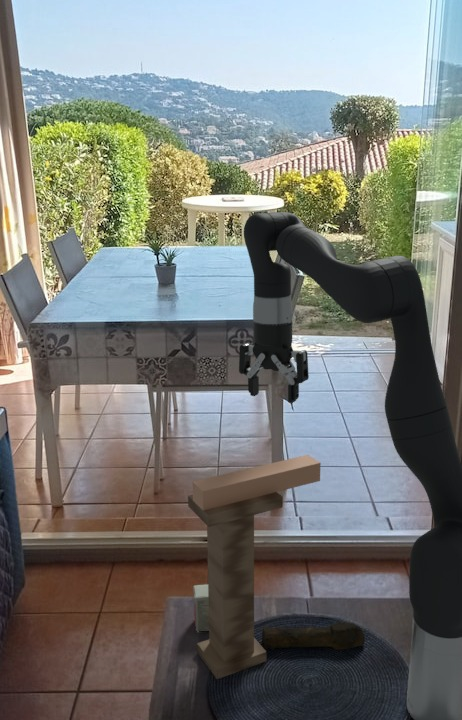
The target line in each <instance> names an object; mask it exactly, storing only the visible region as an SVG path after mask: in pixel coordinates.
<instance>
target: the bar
mask: <svg viewBox="0 0 462 720" xmlns="http://www.w3.org/2000/svg"><path fill="white" fill-rule="evenodd" d="M321 466H322V465H321V462H320V461H318V460H317V459H316V458H314V457H312V456H311V455H309V454H305V455H302V456H298V457H297V456H295V457H292V458H289V459H284V460H279V461H276V462H270V463H266V464H263V465H262V464H261V465H259V466H254V467H250V468H245V469H241V470H237V471H234V472H233V471H232V472H229V473H223V474H219V475H215V476H211V477H207V478H203V479H198V480H194V481H192V482H191V483H192V484H191V485H192V495H193V501H194V502H195V503H196V504H197V505H198V506H199V507H200V508H201V509H202V510H203V511H204V510H208V509H212V508H216V507H220V506H223V505H227V504H231V503H235V502H239V501H243V500H247V499H251V498H255V497H259V496H263V495H267V494H271V493H275V492H277V493H278V492H281V491H282V492H283V491H286V490H290V489H293V488H297V487H301V486H305V485H309V484H313V483H317V482H320V481H321Z"/></svg>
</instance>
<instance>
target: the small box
mask: <svg viewBox="0 0 462 720" xmlns="http://www.w3.org/2000/svg"><path fill="white" fill-rule="evenodd" d="M193 606H194V607H193V609H194V612H193V613H194V614H193V615H194V626H195V627H196V628H195V632H196V631H209V599H208V583H205V584H197V585H196V584H195V585H193Z"/></svg>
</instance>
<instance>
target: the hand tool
mask: <svg viewBox="0 0 462 720" xmlns="http://www.w3.org/2000/svg"><path fill="white" fill-rule="evenodd" d="M261 631H262V632H261V644H262V645H261V646H262V647H263V648H264V649H265V651H267V650H268V649H269V650H272V651H274V650H275V649H278V648H279V649H280V648H282V649H284V648H302V649H303V648H321V647H322V648H323V647H325V648H326V647H327V648H329V647H331V648H332V649H333V650H335V651H336V650H337V651H340V650H348V649H353V648H357V647H359V646H363V645H364V644H365V640H366V639H365V633H364V632H363V630H362V628H361V627H360V626H358V625H357V624H356V623H352V622H341V621H339V622H333V623H331V624H330V626H323V627H320V626H319V627H318V626H317V627H315V626H314V627H268V626H266V625H263V626H262V630H261Z"/></svg>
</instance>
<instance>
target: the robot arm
mask: <svg viewBox="0 0 462 720" xmlns="http://www.w3.org/2000/svg"><path fill="white" fill-rule="evenodd" d="M243 239H244V243H245V246H246V250H247V253H248V256H249V261H250V265H251V268H252V274H253V304H252V324H253V325H252V329H253V333H252V334H253V339H252V341H253V342H254V344H251V343H250V342H246V343H244V344H241V345H240V346H239V359H238V360H239V361H238V362H239V364H238V372H239V373H240V375H245V376H246V377H247V385H248V386H247V387H248V390H247V391H248V393H249V394H250V396H251V397H256V396H258V395H259V394H260V392H259V391H260V386H259V385H260V384H259V383H260V382H259V379H260V378H259V373H260V372H261V371H262V369H263V370H272V371H275V372H280V373H281V376H283V377H285V378H286V380H287V382H288V383H289V384H288V385H287V402H288V403H289V404H293V403H295V402H296V401H297V400H298V399H299V395H300V386H299V385H300V384H303V383H304V382H306V381H308V380H309V378H310V377H309V376H310V375H309V359H308V351H307V350H306V349H303V350H301V351H299V350H294V349H293V347H292V343H293V317H294V315H293V314H294V313H293V302H292V273H291V268H290V266H292V267H294V268H295V269H297V270H298V271H300V272H302V273H303V274H305V275H306V276H308V277H309V278H310V279H312V280H313V281H314V282H315V284H317V285H318V286H319V287H320V288H321V289H322V290H323V291H324V292H325V293H326V294H327V295H328V296H329V297H330V298H331V299H332V300H333V301H335V303H336V304H337V305H338V306H339V307H340V308H341V309H342V310H343V311H344V312H345V313H347V314H348V315H349V316H351V317H352V318H353V319H355V320H356V321H357V322H360V323H364V324H371V323H373V324H374V323H378V322H382V321H385V320H386V321H387V320H389V319H390V321H391V326H392V331H393V336H394V342H395V343H394V345H395V346H394V347H395V349H394V350H395V351H394V360H393V364H392V367H391V368H392V369H391V371H390V376H389V380H388V383H387V388H386V393H385V398H384V412H385V418H386V422H387V424H388V429H389V433H390V437H391V439H392V443H393V446H394V449H395V452H396V453H397V455H398V456H399V458H400V459H401V461H402V462H403V463H404V464H405V465H406V467H407V468H408V469H409V471H410V472H411V473H412V474H413V475H414V477H415V478H416V479H418V481H419V483H420V484H421V485H422V487H423V489H424V491H425V493H426V495H427V497H428V498H427V499H428V502H429V506H430V508H431V512H432V517H433V524H434V527H433V528H431V529H430V530H427V532H425V533H423V534H422V535H421V536H419V537H418V538H417V539H416V540H415V541H414V542H413V544H412V548H411V551H410V556H409V577H408V580H409V581H408V585H409V587H408V593H409V594H408V595H409V602H410V604H411V606H412V607H411V608H412V612H413V613H412V623H411V624H412V626H411V640H410V651H409V652H410V654H409V655H410V656H409V668H408V680H407V681H408V682H407V692H406V709H407V712H408V714H409V713H410V714H409V715H410V716H411V718H412V719H413V720H462V460H461V457H460V454H459V450H458V446H457V444H456V438H455V433H454V430H453V425H452V421H451V418H450V413H449V409H448V405H447V401H446V399H445V395H444V391H443V389H442V383H441V379H440V377H439V376H440V375H439V372H438V368H437V362H436V359H435V355H434V350H433V345H432V339H431V332H430V326H429V320H428V312H427V307H426V300H425V294H424V289H423V284H422V281H421V277H420V275H419V272H418V270H417V268H416V267H415V265H414V263H413V262H412V261H411V260H410V259H409V258H407V257H406V256H403V255H392V256H389V257H383V258H379V259H375V260H370V261H365V262H363V263H360V264H357V265H356V264H350V263H345V262H343V261H340V260H338V258H337V257H338V256H337V253H336V249H335V247H334V246H333V244H332V243H331V242H330V241H329V240H328V239H327V238H326V237H325V236H323V235H321V234H320V233H317V232H316V231H314V230H313V229H310V228H307V226H306V225H305V223H303V221H302V220H301V219H300V217H298V216H297V215H296V214H294V213H292V212H289V211H288V212H287V211H277V212H274V211H273V212H258V213H253V214H251V215H250V216H249V217H248V218H247V220H246V221H245V223H244V226H243ZM273 251H276V252H277V255H278V256H279V258H280V259H282V260H283V262H285V263H282V262H275V261H273V259H272V257H271V254H270V252H273ZM286 263H287V264H286ZM289 265H290V266H289ZM252 355H254V357H255V361H254V362H253V364H252V365H251V361H252V357H251V356H252ZM292 359H294V360H293V361H294V362H295V364H296V367H295V365H294V363H293V362H292Z"/></svg>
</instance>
